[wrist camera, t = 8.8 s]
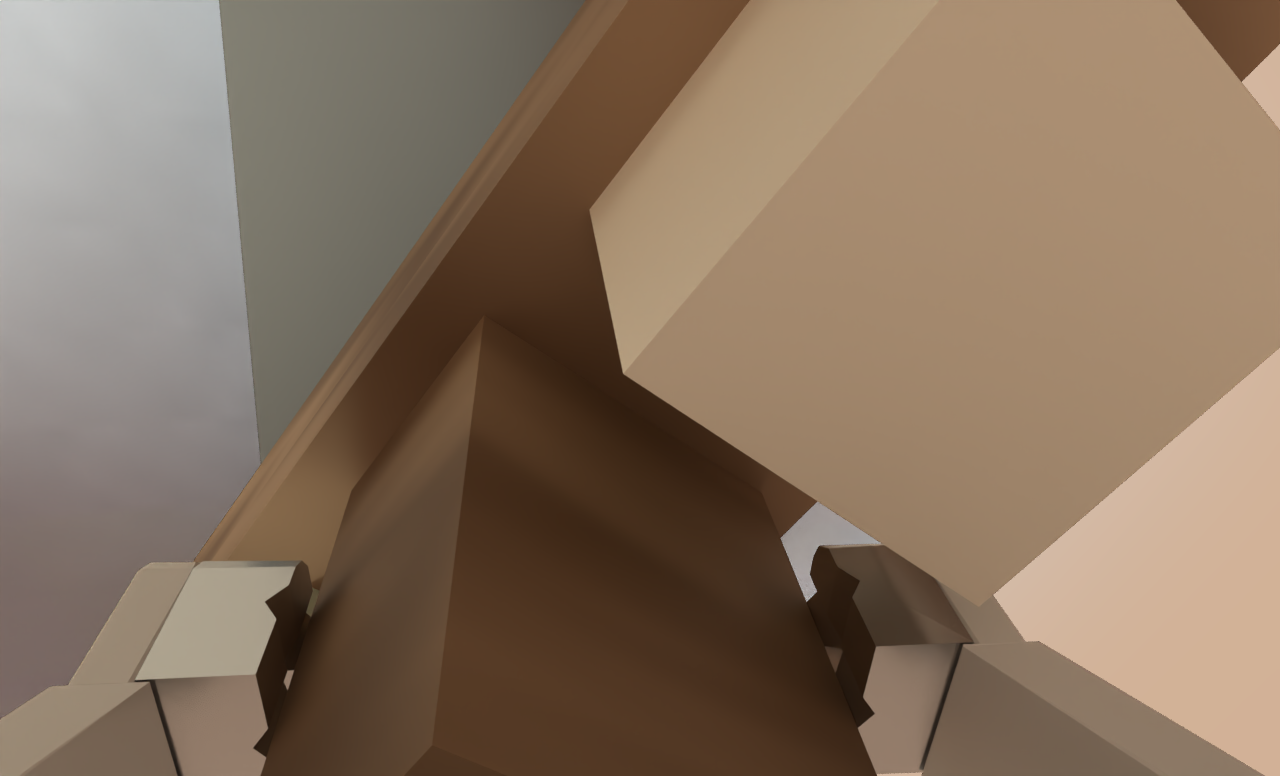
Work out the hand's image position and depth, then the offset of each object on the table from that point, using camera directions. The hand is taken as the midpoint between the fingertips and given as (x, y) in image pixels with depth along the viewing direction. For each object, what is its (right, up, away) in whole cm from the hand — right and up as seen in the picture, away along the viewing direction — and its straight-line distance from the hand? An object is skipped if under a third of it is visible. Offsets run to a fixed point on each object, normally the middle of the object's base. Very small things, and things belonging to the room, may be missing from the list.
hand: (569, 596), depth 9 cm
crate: (+3, +5, 0) cm, 6 cm away
